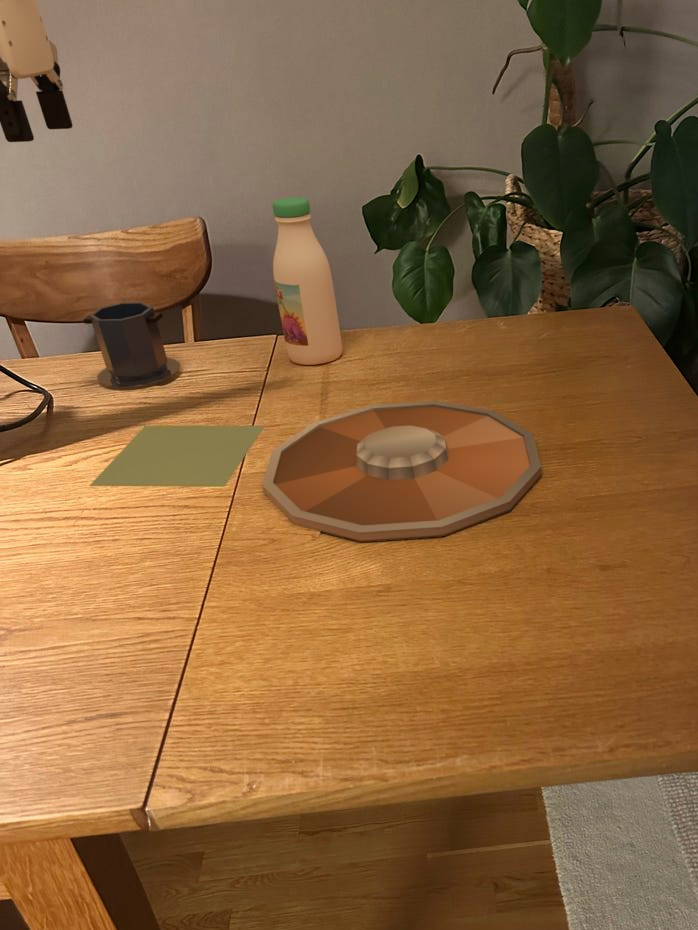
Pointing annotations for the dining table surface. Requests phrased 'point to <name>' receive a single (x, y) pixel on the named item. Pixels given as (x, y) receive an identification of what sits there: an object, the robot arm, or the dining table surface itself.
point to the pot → (129, 340)
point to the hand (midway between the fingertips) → (41, 134)
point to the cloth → (180, 456)
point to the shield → (402, 471)
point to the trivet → (159, 380)
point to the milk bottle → (304, 287)
